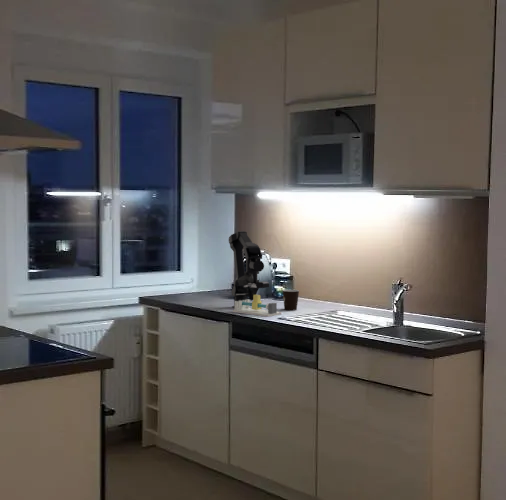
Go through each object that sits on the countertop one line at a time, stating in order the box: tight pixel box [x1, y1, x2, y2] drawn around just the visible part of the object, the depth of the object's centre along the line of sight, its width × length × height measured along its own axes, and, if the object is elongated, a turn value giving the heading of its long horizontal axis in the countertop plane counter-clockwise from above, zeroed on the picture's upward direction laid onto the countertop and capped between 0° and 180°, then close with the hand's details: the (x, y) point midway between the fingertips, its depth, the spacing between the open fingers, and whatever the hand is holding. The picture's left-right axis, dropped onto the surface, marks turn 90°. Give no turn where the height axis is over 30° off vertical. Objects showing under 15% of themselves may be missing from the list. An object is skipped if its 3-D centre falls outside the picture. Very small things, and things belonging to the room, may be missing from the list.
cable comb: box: [232, 298, 282, 317], centre depth 407 cm, size 23×11×6 cm, turn 50°
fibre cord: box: [242, 302, 278, 314], centre depth 407 cm, size 22×4×5 cm, turn 50°
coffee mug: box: [282, 289, 300, 311], centre depth 422 cm, size 12×9×10 cm
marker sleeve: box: [251, 294, 263, 310], centre depth 407 cm, size 3×4×7 cm
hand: (251, 300), depth 409 cm, fingers closed
